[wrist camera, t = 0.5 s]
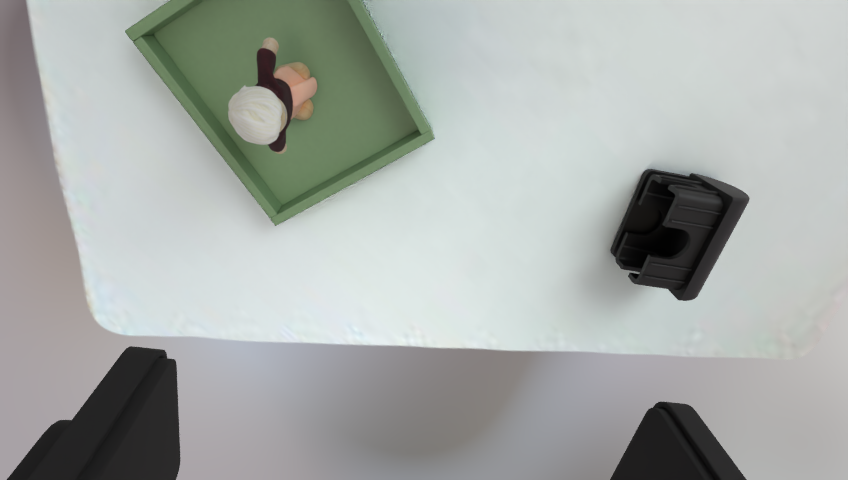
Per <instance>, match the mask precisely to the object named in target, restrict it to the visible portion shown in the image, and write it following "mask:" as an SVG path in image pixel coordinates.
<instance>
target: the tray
mask: <svg viewBox="0 0 848 480" xmlns="http://www.w3.org/2000/svg"><path fill="white" fill-rule="evenodd" d="M125 33H126V34H127V35H128V36H129V38H130V39H131V40H132V41H134V42H133V43H134V44H135V45H136V47H137V48H138V49H139V51H140V52H141V53H142V54H143V56H144V57H145V58H146V60H147V61H148V62H149V63H150V65H151V66H152V67H153V69H154V70H155V71H156V72H157V74H158V75H159V76H160V78H161V79H162V80H163V81H164V83H165V84H166V85H167V87H168V88H169V89H170V90H171V92H172V93H173V94H174V96H175V97H176V98H177V99H178V101H179V102H180V103H181V105H182V106H183V107H184V108H185V110H186V111H187V112H188V114H189V115H190V116H191V117H192V119H193V120H194V121H195V123H196V124H197V125H198V126H199V128H200V129H201V130H202V132H203V133H204V134H205V135H206V137H207V138H208V139H209V141H210V142H211V143H212V144H213V146H214V147H215V148H216V150H217V151H218V152H219V153H220V155H221V156H222V157H223V159H224V160H225V161H226V162H227V164H228V165H229V166H230V168H231V169H232V170H233V171H234V173H235V174H236V175H237V176H238V178H239V179H240V180H241V182H242V183H243V184H244V185H245V187H246V188H247V189H248V191H249V192H250V193H251V194H252V196H253V197H254V198H255V200H256V201H257V202H258V203H259V205H260V206H261V207H262V209H263V210H264V211H265V212H266V214H267V215H268V216H269V218H270V219H271V221H272V222H273V223H274V224H275V226H276V225H278V224H280V223H282V222H283V221H285V220H287V219H289V218H291V217H293V216H294V215H296V214H298V213H300V212H302V211H304V210H305V209H307V208H309V207H311V206H313V205H314V204H316V203H318V202H320V201H322V200H324V199H325V198H327V197H329V196H331V195H333V194H335V193H336V192H338V191H340V190H342V189H344V188H346V187H347V186H349V185H351V184H353V183H355V182H356V181H358V180H360V179H362V178H364V177H366V176H367V175H369V174H371V173H373V172H375V171H377V170H378V169H380V168H382V167H384V166H386V165H387V164H389V163H391V162H393V161H395V160H397V159H398V158H400V157H402V156H404V155H406V154H408V153H409V152H411V151H413V150H415V149H417V148H418V147H420V146H422V145H424V144H426V143H428V142H429V141H431V140H433V139H435V138H434V135H433V132H432V129H431V128H430V126H429V124H428V122H427V120H426V118H425V116H424V115H423V113H422V111H421V109H420V107H419V105H418V103H417V102H416V100H415V98H414V96H413V94H412V92H411V90H410V89H409V87H408V85H407V83H406V81H405V79H404V77H403V76H402V74H401V72H400V70H399V68H398V66H397V64H396V63H395V61H394V59H393V57H392V55H391V53H390V51H389V50H388V48H387V46H386V44H385V42H384V40H383V38H382V37H381V35H380V33H379V31H378V29H377V27H376V25H375V24H374V22H373V20H372V18H371V16H370V14H369V12H368V11H367V9H366V7H365V5H364V3H363V1H362V0H170V1H168V2H167V3H165V4H164V5H163V6H161V7H160V8H158V9H157V10H155V11H154V12H152V13H151V14H149V15H148V16H146V17H145V18H143V19H142V20H140V21H139V22H137V23H136V24H134V25H133V26H131V27H130V28H128V29H127V30H126V31H125ZM269 37H270V38H274V39H275V40H276V41H277V42H278V45H279V48H278V51H277V55H276V65H275V69H274V72H273V74H274V73H275V70H276V68H277V67H278V66H280V65H284V64H289V63H293V62H301V63H303V64H305V65H306V66H307V67H308V69H309V71H310V78H311V77H314V78H315V79H316V81H317V90H316V93H315V94H314V95H313V96H312V97H311V98H309V99H310V100H311V101H312V103H313V107H314V109H313V114H312V116H311V117H310V118H309V119H307V120H299V119H296V118H293V119H291V121H290V124H289V126H288V128H287V129H286V145H287V149H286V151H285V152H284V153H282V154H278V153H276V152H274V151H272V150H271V149H270V148H269V146H268V144H267V145H260V144H255V143H250V142H247V141H245V140H244V139H243V138H242V137H241V136H240V135H238V133H237V132H236V131H235V129H234V127H233V126H232V124H231V123H230V121H229V117H228V111H229V107H228V104H229V101H230V100H231V98H232V96H233V95H234V94H236V93H237V92H239V91H240V89H241V88H242V87H243V86H244V85H245V86H246V87H253V86H255V85H256V84H257V83H258V69H257V59H256V58H257V51H258V50H259V49H260V48H261V47H262V44H263V41H264V40H265V39H266V38H269Z"/></svg>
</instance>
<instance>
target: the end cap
mask: <svg viewBox="0 0 848 480" xmlns="http://www.w3.org/2000/svg"><path fill="white" fill-rule="evenodd" d="M748 202H749V197H748V195H747V194H746V193H744V192H743V191H741V190H740V189H738V188H736V187H733V186H731V185H729V184H726V183H724V182H721V181H718V180H715V179H712V178H709V177H705V176H702V175H698V174H693V173H692V174H690V176H685V175H680V174H675V173H669V172H664V171H659V170H653V169H648V170H646V171H645V172H644V173H643V175H642V178H641V180H640V182H639V185H638V187H637V189H636V192H635V194H634V197H633V199H632V201H631V204H630V206H629V208H628V211H627V213H626V215H625V218H624V220H623V222H622V225H621V227H620V229H619V232H618V234H617V237H616V239H615V241H614V244H613V246H612V248H611V253H612V254H613V255H614V256H615V257H616V263H617V264H618V265H619V266H620V268H621V269H624V270H631V271H638V272H640V274H636V273H629V275H628V277H629V278H630V280H631V281H632V282H633V283H634V284H638V285H645V286H652V287H659V288H666V289H668V290H669V291H670V292H671V293H672V294H673V295H674V296H675V297H676V298H677V299H678V300H683V301H686V300H692V299H695V298H696V297H697V296H698V294H699V292H700V290H701V289H702V287H703V285H704V283H705V281H706V279H707V278H708V276H709V274H710V272H711V270H712V268H713V266H714V265H715V263H716V261H717V259H718V257H719V255H720V254H721V252H722V250H723V248H724V246H725V244H726V242H727V241H728V239H729V237H730V235H731V233H732V231H733V230H734V228H735V226H736V224H737V222H738V220H739V219H740V217H741V215H742V213H743V211H744V209H745V207H746V206H747V204H748Z"/></svg>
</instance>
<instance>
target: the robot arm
mask: <svg viewBox="0 0 848 480" xmlns="http://www.w3.org/2000/svg"><path fill="white" fill-rule="evenodd" d="M178 418H179V417H178V394H177V368H176V361H175V360H174V359H167V354H166V352H165V350H160V349H150V348H141V347H128V348H127V349H126V350H125V351H124V352H123V353H122V354H121V356H120V357H119V358H118V360H117V361H116V362H115V364H114V365H113V366H112V368H111V369H110V370H109V372H108V373H107V374H106V376H105V377H104V378H103V380H102V381H101V382H100V384H99V385H98V386H97V388H96V389H95V390H94V392H93V393H92V394H91V396H90V397H89V398H88V400H87V401H86V402H85V404H84V405H83V406H82V407H81V409H80V410H79V412H78V413H77V414H76V415H75V417H74V418H73V419H72V420H60V421H57V422H56V423H54V424H53V425H51V426H50V427H49V428H48V429H47V431H46V432H45V433H44V434H43V435H42V436H41V438H40V439H39V440H38V441H37V442H36V444H35V445H34V446H33V447H32V449H31V450H30V451H29V452H28V454H27V455H26V456H25V458H24V459H23V460H22V461H21V463H20V464H19V465H18V466H17V468H16V469H15V470H14V471H13V473H12V474H11V475H10V476H9V478H8V479H7V480H176V477H177V474H178V471H179V466H180V443H179V419H178ZM610 480H746V479H745V477H744V476H743V474H742V473H741V472H740V470H739V469H738V468H737V466H736V465H735V464H734V462H733V461H732V460H731V458H730V457H729V455H728V454H727V453H726V451H725V450H724V449H723V447H722V446H721V445H720V443H719V442H718V441H717V439H716V438H715V437H714V435H713V434H712V433H711V431H710V430H709V429H708V427H707V426H706V425H705V423H704V422H703V420H702V419H701V418H700V416H699V415H698V414H697V412H696V411H695V410H694V409H693V408H692V407H691V406H689V405H687V404H680V403H670V402H658V403H656V404H655V406H654V407H653V408H651V409H649V410H648V411H647V412H646V414H645V416H644V418H643V420H642V421H641V423H640V425H639V427H638V429H637V431H636V433H635V434H634V436H633V438H632V440H631V442H630V444H629V446H628V448H627V449H626V451H625V453H624V455H623V457H622V458H621V461H620V462H619V464H618V466H617V468H616V470H615V472H614V473H613V475H612V477H611V479H610Z"/></svg>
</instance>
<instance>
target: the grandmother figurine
mask: <svg viewBox="0 0 848 480" xmlns="http://www.w3.org/2000/svg"><path fill="white" fill-rule="evenodd" d="M278 48H279V45H278V42H277V41H276V40H275V39H274V38H270V37H269V38H266V39H265V40H264V41H263V44H262V47H261V48H260V49H259V50H258V51H257V58H256V59H257V69H258V83H257V84H256V85H255V86H253V87H246V86H245V85H244V86H243V87H242V88H241V89H240V91H239V92H237V93H236V94H234V95H233V96H232V98H231V100H230V101H229V104H228V107H229V111H228V117H229V121H230V123H231V124H232V126H233V127H234V129H235V131H236V132H237V133H238V135H240V136H241V137H242V138H243V139H244V140H245V141H247V142H250V143H255V144H260V145H267V144H268V146H269V148H270V149H271V150H272V151H274V152H276V153H278V154H282V153H284V152H285V151H286V149H287V145H286V129H287V128H288V126H289V124H290V121H291V119H293V118H296V119H299V120H307V119H309V118H310V117H311V116H312V114H313V109H314V107H313V103H312V101H311V100H310V99H309V98H311V97H312V96H313V95H314V94H315V93H316V90H317V81H316V79H315V78H314V77H311V78H310V71H309V69H308V67H307V66H306V65H305V64H303V63H301V62H293V63H289V64H284V65H280V66H278V67H277V68H276V70H275V73H274V74H273V72H274V69H275V65H276V55H277V51H278Z"/></svg>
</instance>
